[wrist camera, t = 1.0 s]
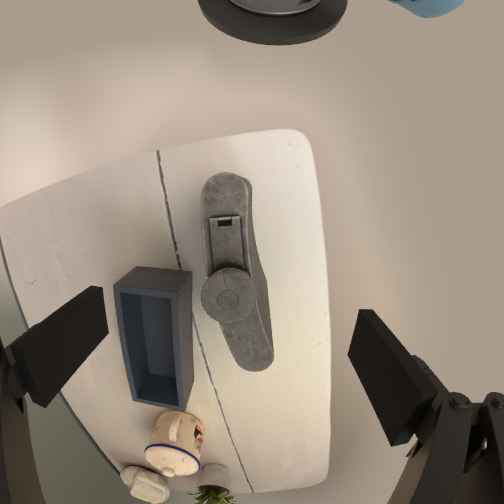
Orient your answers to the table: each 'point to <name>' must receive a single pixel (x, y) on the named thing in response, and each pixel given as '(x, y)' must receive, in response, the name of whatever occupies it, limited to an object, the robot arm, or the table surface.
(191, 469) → the teacup with lid
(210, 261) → the flask
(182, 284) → the holder
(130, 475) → the fossil replica
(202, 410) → the table surface
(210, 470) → the house plant
